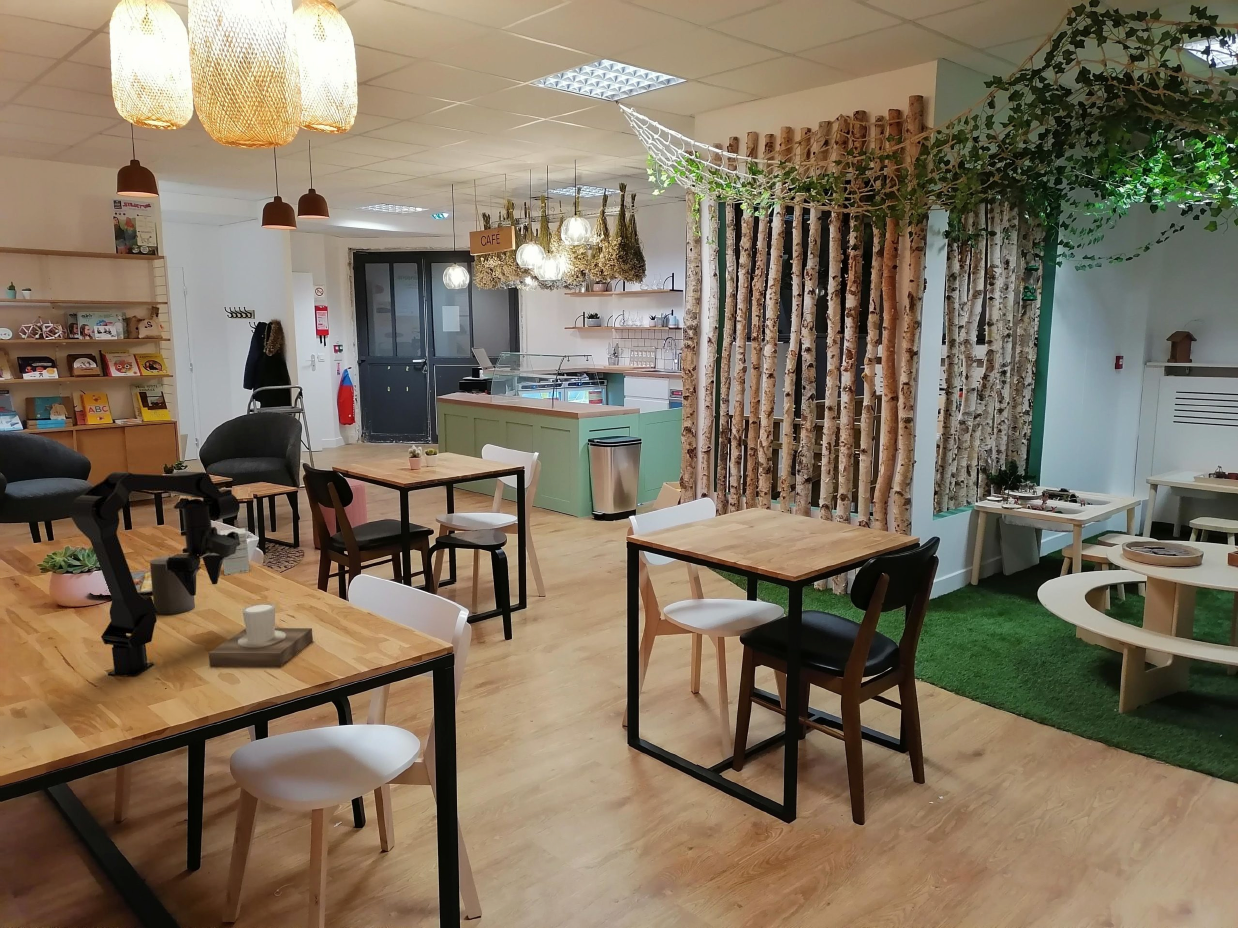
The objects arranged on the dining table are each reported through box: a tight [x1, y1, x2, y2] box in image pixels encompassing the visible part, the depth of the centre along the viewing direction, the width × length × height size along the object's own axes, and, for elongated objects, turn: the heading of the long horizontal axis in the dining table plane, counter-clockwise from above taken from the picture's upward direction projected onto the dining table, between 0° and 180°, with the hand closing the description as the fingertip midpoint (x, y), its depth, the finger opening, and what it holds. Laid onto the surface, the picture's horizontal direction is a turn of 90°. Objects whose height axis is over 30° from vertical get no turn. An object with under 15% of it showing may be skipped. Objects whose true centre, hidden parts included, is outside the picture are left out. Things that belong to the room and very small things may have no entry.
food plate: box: [130, 569, 152, 595], centre depth 249 cm, size 25×23×4 cm
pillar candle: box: [149, 554, 196, 616], centre depth 227 cm, size 10×10×15 cm
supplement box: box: [219, 527, 250, 576], centre depth 264 cm, size 7×7×13 cm
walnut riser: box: [208, 627, 314, 667], centre depth 194 cm, size 16×16×4 cm
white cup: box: [242, 603, 276, 642], centre depth 193 cm, size 7×7×7 cm
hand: (204, 589), depth 202 cm, fingers open, 9 cm apart
